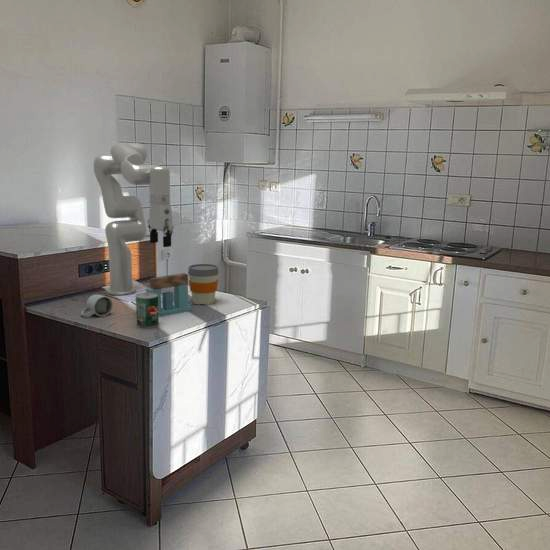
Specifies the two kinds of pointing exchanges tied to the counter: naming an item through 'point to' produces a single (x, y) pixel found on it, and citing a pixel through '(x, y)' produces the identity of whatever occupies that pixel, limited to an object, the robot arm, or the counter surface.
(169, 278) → the walnut bar
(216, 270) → the reusable coffee cup
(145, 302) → the canned tomato
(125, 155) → the robot arm
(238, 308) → the counter surface
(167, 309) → the display stand
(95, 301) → the ceramic mug
